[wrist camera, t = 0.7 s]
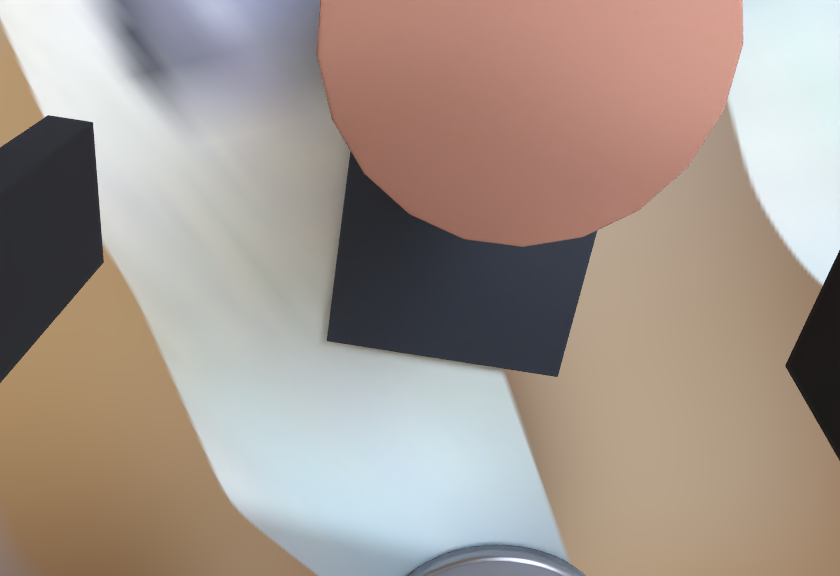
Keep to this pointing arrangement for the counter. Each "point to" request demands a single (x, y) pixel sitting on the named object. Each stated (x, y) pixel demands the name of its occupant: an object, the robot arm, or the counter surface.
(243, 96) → the counter surface
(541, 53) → the coffee jar
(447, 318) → the mat
